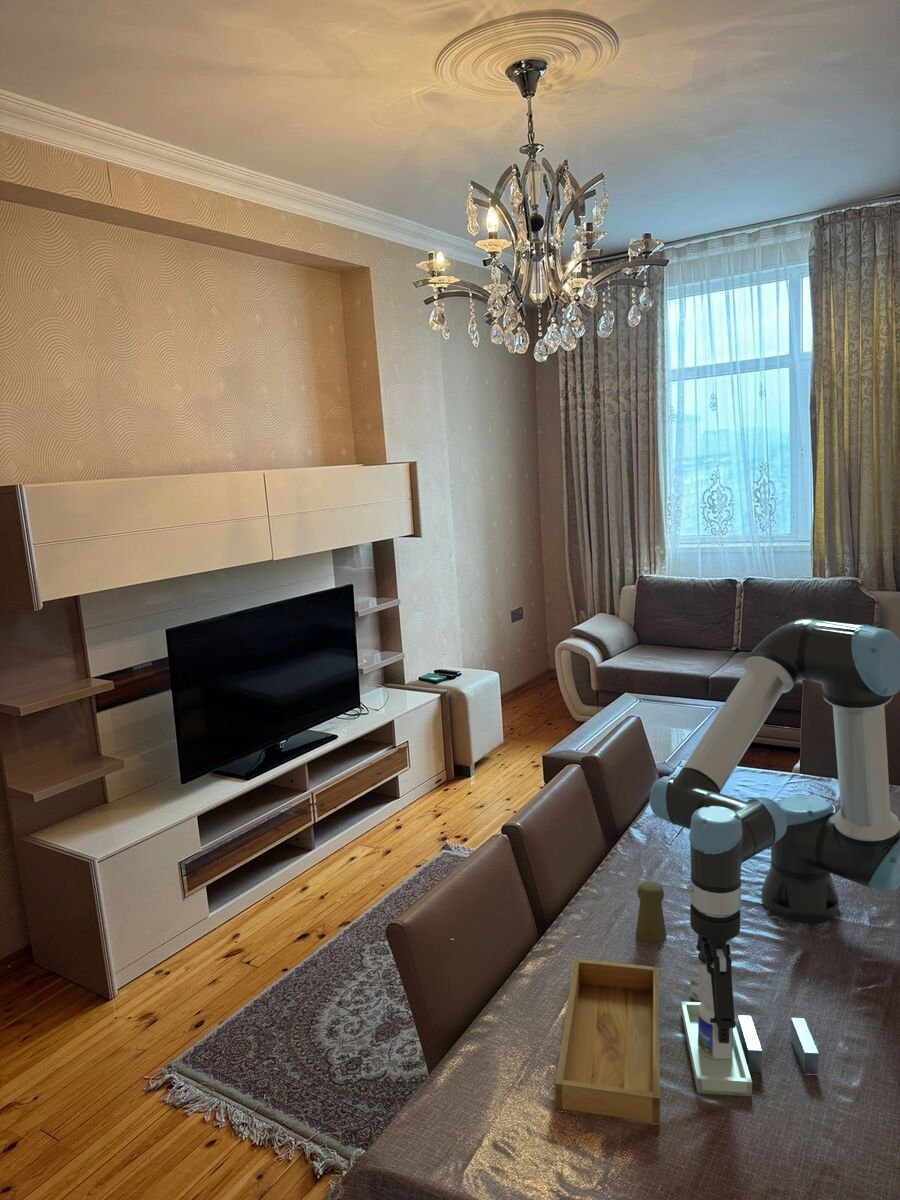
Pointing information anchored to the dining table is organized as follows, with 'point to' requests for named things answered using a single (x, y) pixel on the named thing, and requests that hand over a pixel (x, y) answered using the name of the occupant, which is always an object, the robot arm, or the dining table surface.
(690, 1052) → the tray
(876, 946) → the dining table surface
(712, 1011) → the pill bottle
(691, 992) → the silver pot lid
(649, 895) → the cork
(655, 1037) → the tray
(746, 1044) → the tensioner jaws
